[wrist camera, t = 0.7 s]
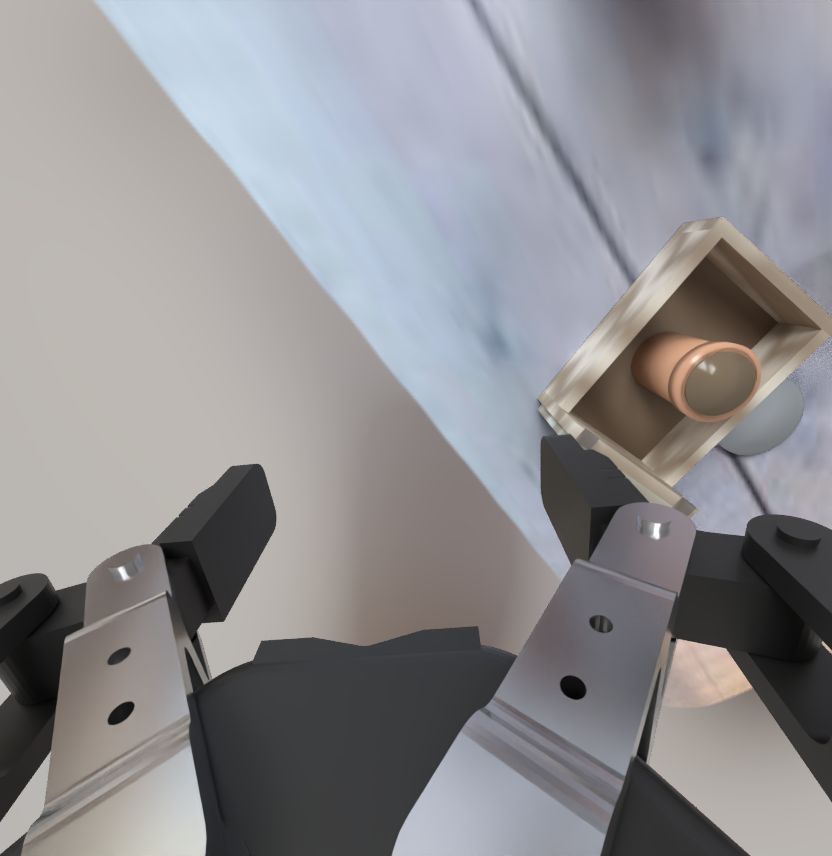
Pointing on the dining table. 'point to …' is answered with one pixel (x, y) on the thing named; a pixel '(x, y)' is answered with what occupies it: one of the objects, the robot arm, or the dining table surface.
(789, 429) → the saucer
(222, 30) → the dining table surface
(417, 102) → the dining table surface
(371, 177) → the dining table surface
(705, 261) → the wooden box
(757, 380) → the pot
